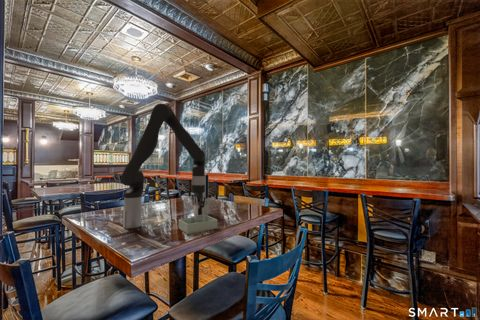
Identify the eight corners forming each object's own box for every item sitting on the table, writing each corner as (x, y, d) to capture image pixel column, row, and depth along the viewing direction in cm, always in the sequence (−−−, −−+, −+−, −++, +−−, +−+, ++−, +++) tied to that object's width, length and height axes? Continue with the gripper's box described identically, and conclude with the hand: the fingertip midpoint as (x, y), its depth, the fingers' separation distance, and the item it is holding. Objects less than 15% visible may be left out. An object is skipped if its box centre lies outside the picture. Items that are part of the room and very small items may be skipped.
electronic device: (203, 217, 150) (203, 174, 151) (193, 216, 151) (193, 173, 152) (209, 213, 162) (209, 173, 163) (200, 213, 164) (200, 173, 164)
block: (194, 229, 120) (195, 218, 120) (190, 226, 125) (190, 216, 125) (204, 227, 123) (204, 217, 123) (200, 225, 128) (200, 215, 128)
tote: (187, 234, 113) (187, 224, 113) (178, 228, 124) (178, 219, 124) (217, 228, 124) (217, 219, 124) (207, 223, 134) (207, 215, 134)
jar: (195, 216, 120) (195, 204, 121) (192, 214, 125) (192, 203, 125) (204, 215, 123) (204, 203, 124) (200, 213, 127) (200, 202, 128)
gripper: (187, 183, 128) (187, 212, 128) (197, 185, 116) (197, 217, 116) (199, 182, 132) (198, 211, 132) (210, 184, 121) (209, 215, 120)
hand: (198, 213), depth 124 cm, fingers closed on jar, 4 cm apart
